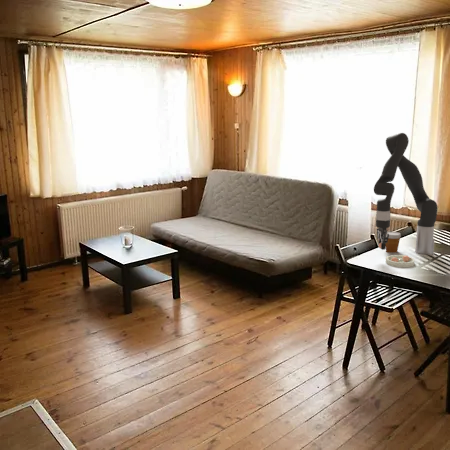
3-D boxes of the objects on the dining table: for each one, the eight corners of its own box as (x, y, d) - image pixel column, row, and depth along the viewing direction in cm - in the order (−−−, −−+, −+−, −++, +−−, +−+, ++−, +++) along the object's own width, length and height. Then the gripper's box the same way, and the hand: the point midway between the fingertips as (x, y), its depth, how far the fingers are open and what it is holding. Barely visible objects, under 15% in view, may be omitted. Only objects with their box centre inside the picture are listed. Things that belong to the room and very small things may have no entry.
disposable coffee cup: (381, 253, 282) (383, 234, 279) (384, 249, 290) (385, 230, 287) (398, 255, 277) (399, 236, 275) (400, 251, 286) (402, 232, 283)
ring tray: (408, 260, 268) (408, 254, 268) (418, 268, 254) (418, 262, 253) (382, 260, 269) (382, 255, 268) (390, 268, 254) (391, 263, 254)
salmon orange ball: (407, 260, 264) (408, 254, 263) (410, 262, 261) (410, 256, 260) (401, 260, 264) (401, 254, 263) (403, 262, 261) (404, 256, 260)
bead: (389, 262, 261) (390, 256, 260) (394, 262, 262) (395, 256, 261) (393, 265, 258) (394, 259, 257) (398, 264, 259) (400, 258, 258)
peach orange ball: (384, 247, 265) (384, 241, 264) (386, 249, 261) (386, 243, 260) (377, 248, 265) (377, 241, 264) (379, 249, 261) (380, 243, 260)
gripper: (372, 216, 266) (371, 245, 270) (380, 221, 252) (379, 252, 256) (385, 215, 266) (384, 244, 270) (394, 220, 252) (393, 251, 256)
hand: (382, 248), depth 263 cm, fingers closed on peach orange ball, 3 cm apart
